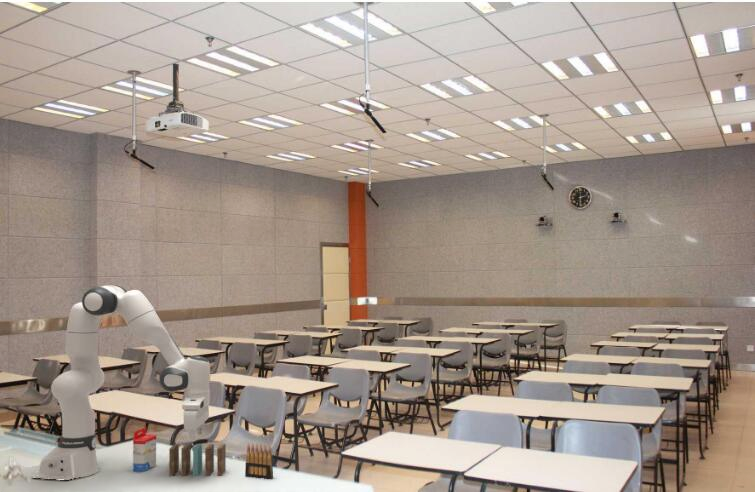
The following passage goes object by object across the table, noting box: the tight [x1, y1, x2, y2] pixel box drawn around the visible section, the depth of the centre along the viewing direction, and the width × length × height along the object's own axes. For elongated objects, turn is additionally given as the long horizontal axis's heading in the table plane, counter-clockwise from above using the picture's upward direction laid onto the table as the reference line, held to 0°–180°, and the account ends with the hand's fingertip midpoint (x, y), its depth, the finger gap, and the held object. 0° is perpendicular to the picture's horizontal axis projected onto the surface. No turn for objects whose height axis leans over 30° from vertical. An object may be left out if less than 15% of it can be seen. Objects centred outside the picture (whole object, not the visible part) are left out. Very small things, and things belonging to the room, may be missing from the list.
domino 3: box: [192, 443, 203, 477], centre depth 235 cm, size 2×6×10 cm, turn 0°
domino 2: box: [180, 443, 192, 477], centre depth 235 cm, size 2×6×10 cm, turn 0°
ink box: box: [132, 426, 157, 473], centre depth 242 cm, size 8×5×15 cm, turn 168°
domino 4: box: [204, 443, 215, 477], centre depth 235 cm, size 2×6×10 cm, turn 0°
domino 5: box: [216, 443, 227, 477], centre depth 235 cm, size 2×6×10 cm, turn 0°
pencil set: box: [244, 442, 274, 480], centre depth 230 cm, size 11×2×12 cm, turn 70°
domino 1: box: [168, 443, 180, 477], centre depth 235 cm, size 2×6×10 cm, turn 0°
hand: (196, 437), depth 235 cm, fingers open, 8 cm apart
